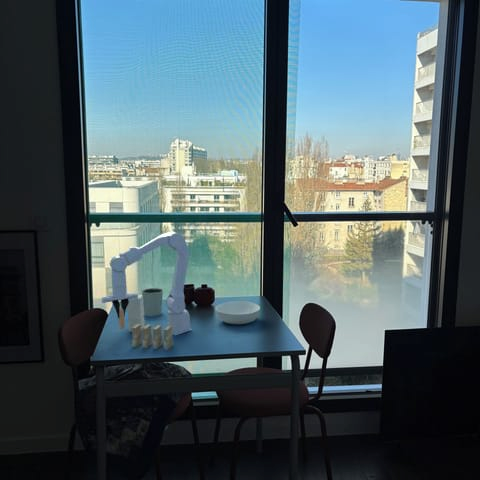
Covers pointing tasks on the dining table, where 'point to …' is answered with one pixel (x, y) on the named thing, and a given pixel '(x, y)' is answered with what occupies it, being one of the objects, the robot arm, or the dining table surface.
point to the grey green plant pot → (152, 301)
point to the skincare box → (136, 312)
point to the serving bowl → (237, 312)
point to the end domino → (121, 318)
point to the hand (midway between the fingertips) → (121, 317)
